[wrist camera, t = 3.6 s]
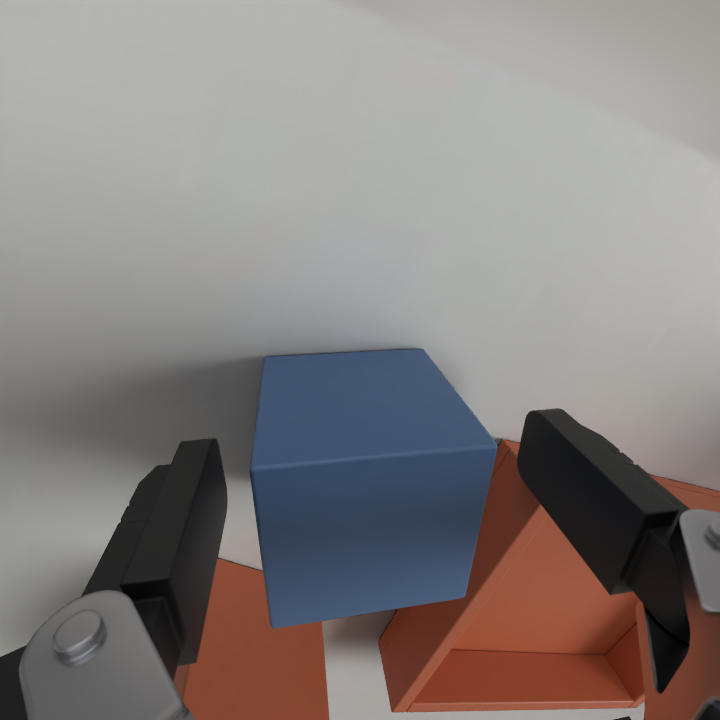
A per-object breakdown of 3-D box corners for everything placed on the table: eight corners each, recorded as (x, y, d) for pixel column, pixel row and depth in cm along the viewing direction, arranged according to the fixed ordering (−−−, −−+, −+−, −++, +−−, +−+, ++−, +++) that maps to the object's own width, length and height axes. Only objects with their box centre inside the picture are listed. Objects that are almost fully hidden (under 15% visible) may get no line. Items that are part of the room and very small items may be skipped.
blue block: (276, 482, 12) (270, 631, 8) (263, 355, 10) (248, 469, 6) (411, 468, 13) (466, 599, 9) (423, 347, 11) (500, 444, 7)
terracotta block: (152, 631, 14) (100, 808, 10) (210, 555, 13) (176, 721, 9) (260, 653, 16) (251, 812, 12) (319, 587, 15) (332, 739, 11)
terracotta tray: (377, 642, 17) (391, 713, 15) (502, 438, 13) (547, 493, 11) (599, 651, 21) (636, 708, 18) (746, 497, 17) (816, 547, 15)
